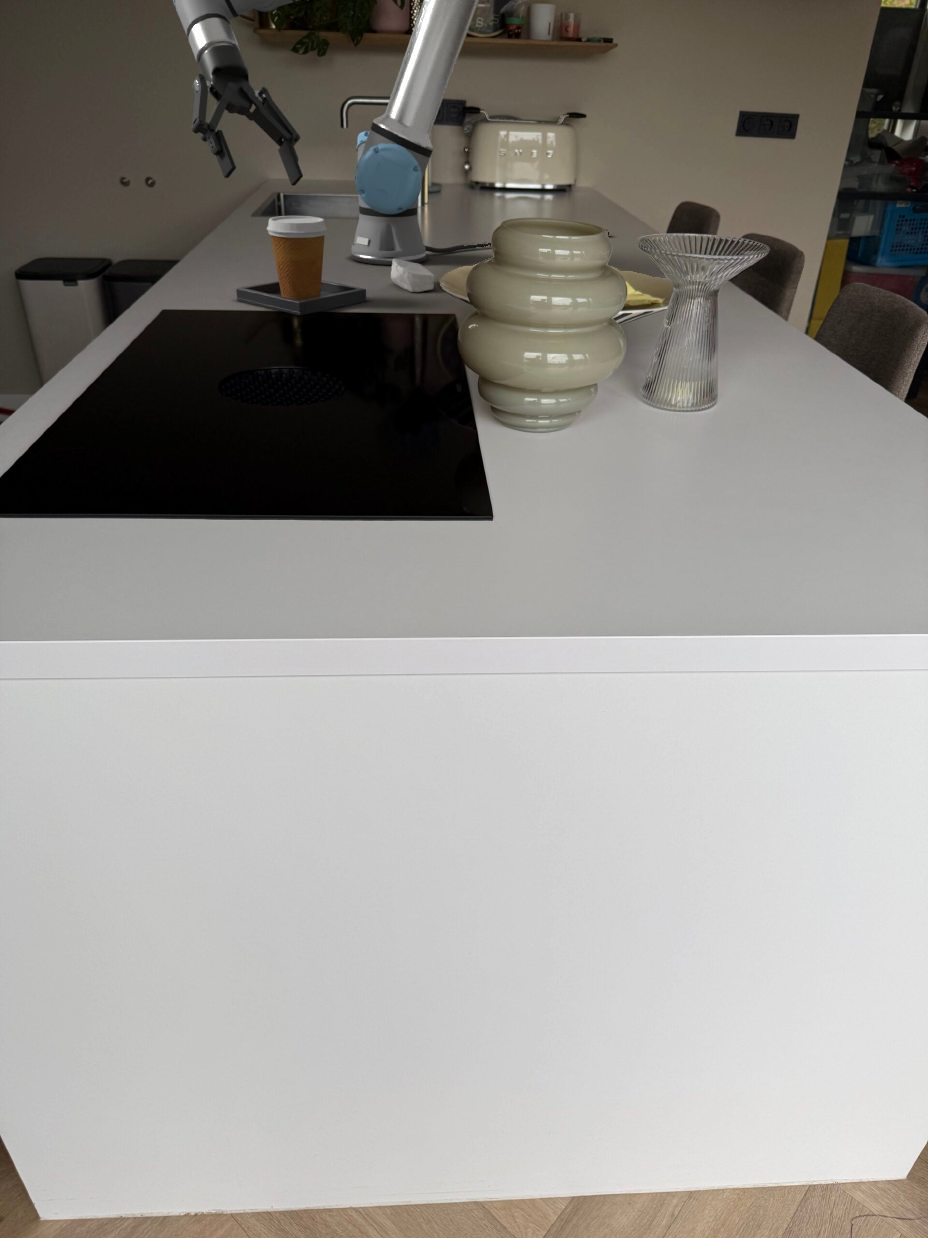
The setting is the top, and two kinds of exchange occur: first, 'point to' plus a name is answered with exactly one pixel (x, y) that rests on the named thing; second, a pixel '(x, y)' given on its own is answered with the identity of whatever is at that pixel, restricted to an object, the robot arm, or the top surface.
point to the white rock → (411, 276)
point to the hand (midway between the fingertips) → (264, 176)
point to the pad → (329, 299)
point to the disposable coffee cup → (298, 254)
